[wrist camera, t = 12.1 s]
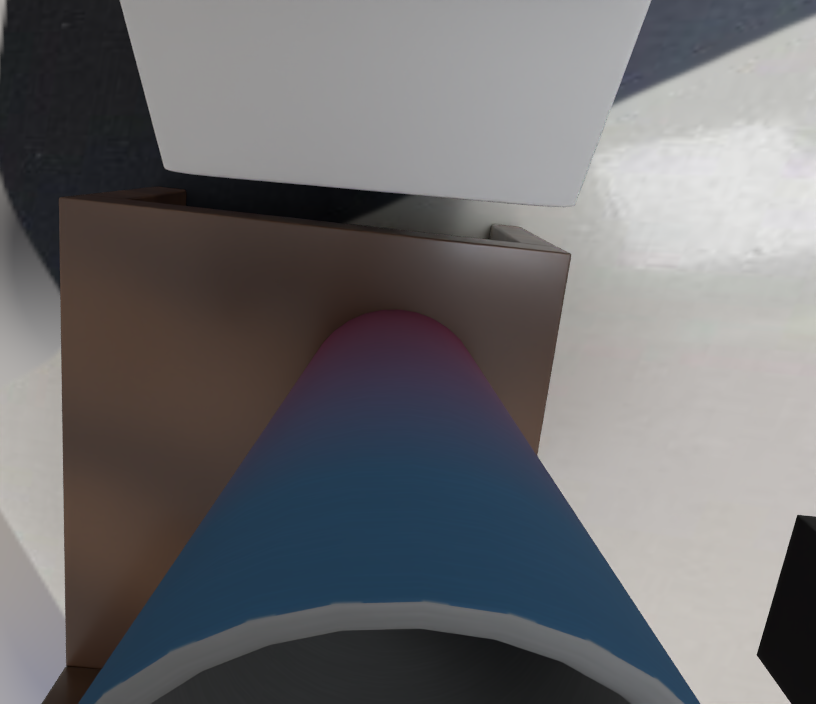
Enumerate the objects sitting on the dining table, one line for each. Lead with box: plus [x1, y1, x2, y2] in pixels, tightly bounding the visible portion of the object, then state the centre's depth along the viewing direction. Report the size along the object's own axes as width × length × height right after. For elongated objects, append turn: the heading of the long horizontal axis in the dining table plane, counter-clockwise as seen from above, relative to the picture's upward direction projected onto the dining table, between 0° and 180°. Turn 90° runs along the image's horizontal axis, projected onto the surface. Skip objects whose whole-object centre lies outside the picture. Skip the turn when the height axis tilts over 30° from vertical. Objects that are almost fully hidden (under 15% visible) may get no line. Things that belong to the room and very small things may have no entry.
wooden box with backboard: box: [42, 186, 571, 704], centre depth 20 cm, size 16×14×18 cm
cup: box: [78, 310, 700, 704], centre depth 13 cm, size 7×7×15 cm
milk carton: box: [120, 0, 651, 207], centre depth 17 cm, size 7×7×19 cm
